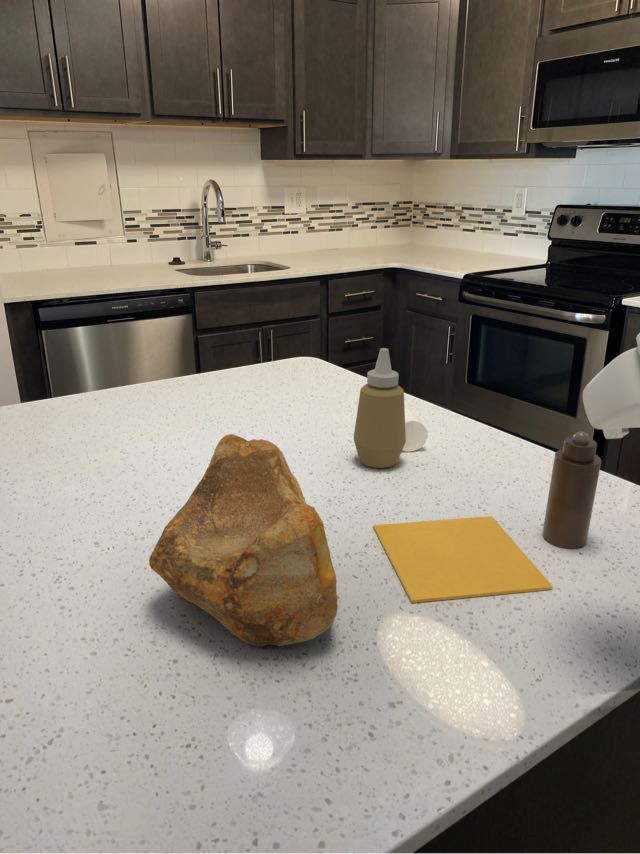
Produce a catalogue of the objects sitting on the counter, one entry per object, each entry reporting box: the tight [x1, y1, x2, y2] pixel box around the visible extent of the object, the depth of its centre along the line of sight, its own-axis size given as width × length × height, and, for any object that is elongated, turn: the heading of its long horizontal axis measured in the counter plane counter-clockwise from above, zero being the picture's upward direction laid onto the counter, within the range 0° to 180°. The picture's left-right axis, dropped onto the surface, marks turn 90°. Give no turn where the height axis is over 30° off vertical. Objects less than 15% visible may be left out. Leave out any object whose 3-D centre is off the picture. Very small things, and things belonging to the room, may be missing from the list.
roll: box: [402, 405, 429, 453], centre depth 112 cm, size 6×12×6 cm, turn 10°
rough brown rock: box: [148, 433, 339, 648], centre depth 67 cm, size 23×17×15 cm
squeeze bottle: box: [353, 347, 406, 469], centre depth 100 cm, size 8×8×18 cm
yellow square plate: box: [372, 515, 553, 604], centre depth 78 cm, size 16×16×1 cm
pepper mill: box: [541, 430, 602, 550], centre depth 80 cm, size 5×5×14 cm
